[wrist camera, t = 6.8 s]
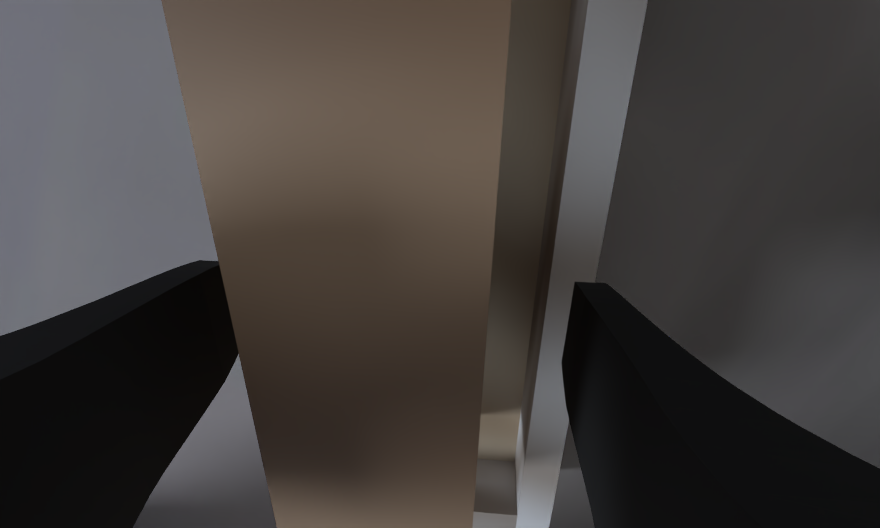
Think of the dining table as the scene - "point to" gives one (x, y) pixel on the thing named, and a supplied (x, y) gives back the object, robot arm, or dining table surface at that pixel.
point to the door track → (547, 235)
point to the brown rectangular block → (353, 239)
